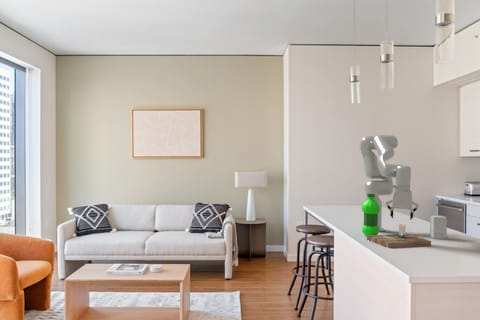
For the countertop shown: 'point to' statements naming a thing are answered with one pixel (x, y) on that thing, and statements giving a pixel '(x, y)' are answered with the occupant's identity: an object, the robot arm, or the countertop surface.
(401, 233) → the white piece
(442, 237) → the supplement box
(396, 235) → the tuner board
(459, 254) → the countertop surface
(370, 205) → the plastic bottle
